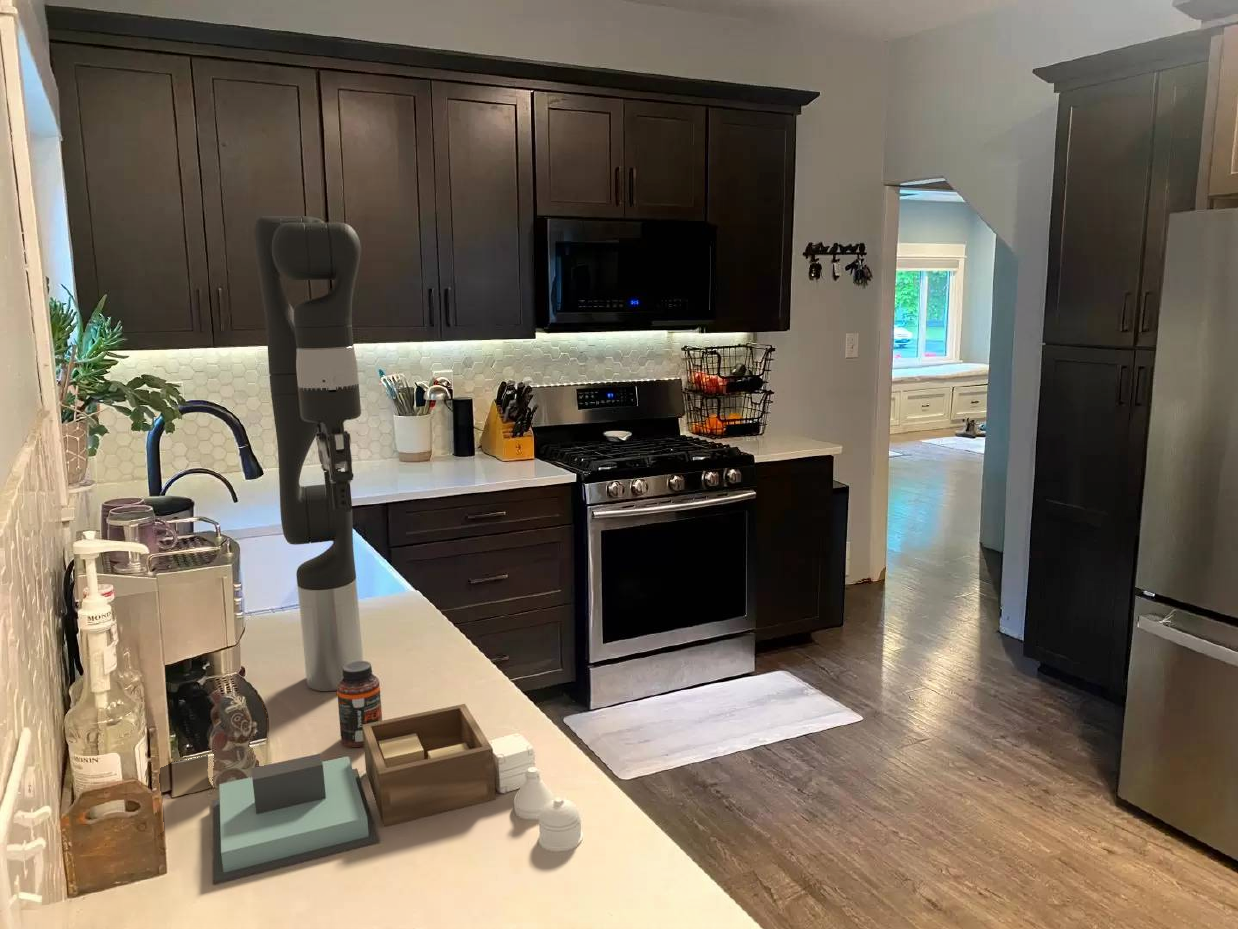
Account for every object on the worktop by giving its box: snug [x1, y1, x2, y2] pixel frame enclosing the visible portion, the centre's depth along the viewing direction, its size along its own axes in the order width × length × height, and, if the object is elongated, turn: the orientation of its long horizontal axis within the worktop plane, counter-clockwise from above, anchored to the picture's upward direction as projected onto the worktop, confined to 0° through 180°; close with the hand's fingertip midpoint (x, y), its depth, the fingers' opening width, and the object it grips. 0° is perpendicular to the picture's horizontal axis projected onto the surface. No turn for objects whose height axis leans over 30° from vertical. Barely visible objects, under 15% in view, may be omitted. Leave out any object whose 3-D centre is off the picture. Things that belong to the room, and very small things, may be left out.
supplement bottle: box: [336, 660, 383, 748], centre depth 133 cm, size 6×6×11 cm
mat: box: [212, 768, 380, 885], centre depth 114 cm, size 18×18×1 cm
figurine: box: [208, 689, 259, 790], centre depth 124 cm, size 7×7×12 cm
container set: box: [488, 733, 584, 853], centre depth 115 cm, size 20×5×6 cm, turn 30°
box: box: [362, 703, 496, 828], centre depth 121 cm, size 14×14×7 cm
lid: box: [219, 753, 369, 873], centre depth 113 cm, size 16×16×7 cm
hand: (338, 504), depth 122 cm, fingers open, 8 cm apart
